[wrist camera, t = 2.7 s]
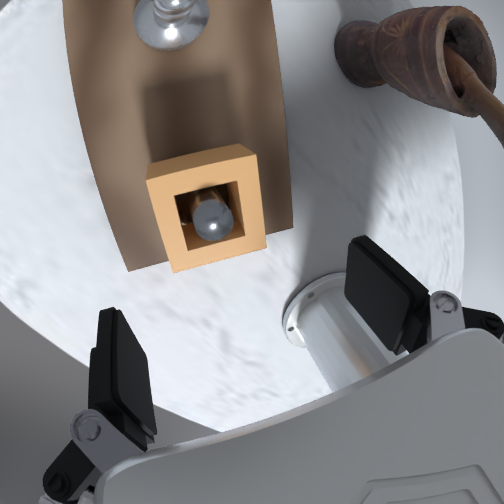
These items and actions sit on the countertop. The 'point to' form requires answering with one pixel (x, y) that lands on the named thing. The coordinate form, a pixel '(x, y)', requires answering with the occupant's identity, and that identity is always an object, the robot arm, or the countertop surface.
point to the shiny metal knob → (207, 211)
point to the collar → (201, 176)
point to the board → (175, 108)
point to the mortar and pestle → (427, 60)
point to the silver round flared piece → (170, 22)
